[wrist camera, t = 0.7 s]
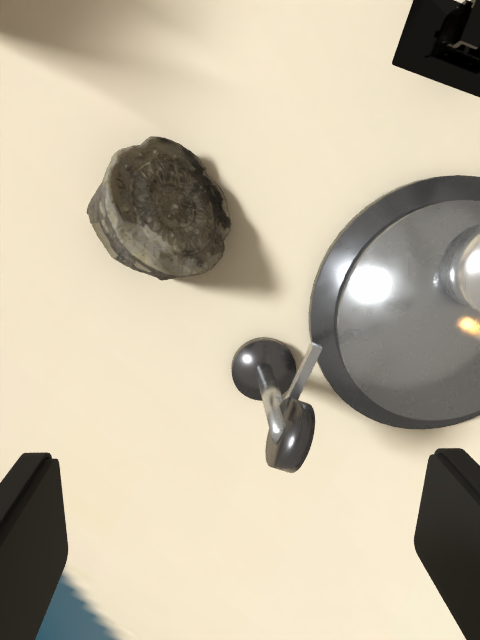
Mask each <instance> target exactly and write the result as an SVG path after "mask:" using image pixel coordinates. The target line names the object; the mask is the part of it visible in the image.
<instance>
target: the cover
mask: <svg viewBox="0 0 480 640" xmlns="http://www.w3.org/2000/svg"><path fill="white" fill-rule="evenodd" d="M440 279H441V283H442V286H443V288H444V290H445V292H446V293H447V294H448V296H449V297H450V298H451V299H453V300H454V301H456V302H458V303H460V304H462V305H465V306H467V307H470V308H472V309H474V310H477V311H479V312H480V224H479V225H475V226H472V227H470V228H468V229H466V230H464V231H463V232H461V233H460V234H459V235H457V236H456V237H455V238H454V239H453V240H452V241H451V243H450V244H449V245H448V247H447V249H446V250H445V252H444V254H443V257H442V260H441V265H440Z"/></svg>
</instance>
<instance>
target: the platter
mask: <svg viewBox="0 0 480 640" xmlns="http://www.w3.org/2000/svg"><path fill="white" fill-rule="evenodd" d="M479 224H480V201H474V200H453V201H441V202H437V203H432V204H427V205H424V206H422V207H419V208H416V209H413V210H411V211H409V212H407V213H405V214H403V215H401V216H399V217H397V218H396V219H394V220H393V221H391V222H390V223H388V224H387V225H385V226H384V227H383V228H382V229H380V230H379V231H378V232H377V233H376V234H375V235H373V236H372V237H371V238H370V240H369V241H368V242H367V243H366V244H365V245H364V246H363V247H362V248H361V250H360V251H359V252H358V254H357V255H356V257H355V258H354V259H353V261H352V263H351V264H350V266H349V268H348V270H347V272H346V274H345V276H344V278H343V281H342V283H341V286H340V288H339V292H338V296H337V300H336V304H335V312H334V334H335V341H336V346H337V349H338V353H339V356H340V358H341V361H342V363H343V365H344V367H345V369H346V370H347V372H348V373H349V375H350V377H351V378H352V379H353V381H354V382H355V383H356V385H357V386H358V387H359V388H360V389H361V390H362V391H363V392H364V394H365V395H366V396H368V397H369V398H370V399H371V400H372V401H374V402H375V403H376V404H378V405H379V406H381V407H383V408H384V409H386V410H388V411H390V412H393V413H395V414H397V415H400V416H404V417H407V418H411V419H418V420H436V421H437V420H447V419H453V418H458V417H462V416H466V415H469V414H472V413H475V412H477V411H480V312H479V311H477V310H474V309H472V308H470V307H467V306H465V305H462V304H460V303H458V302H456V301H454V300H453V299H451V298H450V297H449V296H448V294H447V293H446V292H445V290H444V288H443V286H442V283H441V279H440V265H441V260H442V257H443V254H444V252H445V250H446V249H447V247H448V245H449V244H450V243H451V241H452V240H453V239H454V238H455V237H456V236H457V235H459V234H460V233H461V232H463V231H464V230H466V229H468V228H470V227H472V226H475V225H479Z"/></svg>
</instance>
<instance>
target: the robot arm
mask: <svg viewBox="0 0 480 640" xmlns="http://www.w3.org/2000/svg"><path fill="white" fill-rule="evenodd" d="M414 545H415V550H416V553H417V555H418V557H419V558H420V560H421V562H422V563H423V565H424V567H425V569H426V570H427V572H428V574H429V576H430V577H431V579H432V581H433V583H434V584H435V586H436V588H437V589H438V591H439V593H440V595H441V596H442V598H443V600H444V602H445V603H446V605H447V607H448V609H449V610H450V612H451V614H452V615H453V617H454V619H455V621H456V622H457V624H458V626H459V628H460V629H461V631H462V633H463V635H464V636H465V638H466V640H480V466H479V465H478V464H477V463H476V462H475V461H474V460H473V459H472V458H471V457H470V456H469V455H468V454H467V453H466V452H465V451H464V450H463V449H460V448H441V449H437V450H436V451H435V453H434V454H432V455H430V457H429V459H428V464H427V470H426V475H425V481H424V486H423V492H422V497H421V503H420V508H419V514H418V519H417V525H416V530H415V536H414ZM67 556H68V541H67V532H66V523H65V513H64V504H63V495H62V486H61V476H60V467H59V461H58V459H52V456H51V454H50V453H24V454H22V455H21V456H20V458H19V459H18V460H17V462H16V463H15V464H14V466H13V467H12V468H11V470H10V471H9V472H8V474H7V475H6V476H5V478H4V479H3V480H2V482H1V483H0V640H35V638H36V635H37V633H38V631H39V628H40V626H41V623H42V621H43V618H44V616H45V614H46V611H47V609H48V606H49V604H50V601H51V599H52V596H53V594H54V591H55V589H56V586H57V584H58V582H59V579H60V577H61V574H62V572H63V569H64V567H65V564H66V561H67Z"/></svg>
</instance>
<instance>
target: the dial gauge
mask: <svg viewBox="0 0 480 640" xmlns="http://www.w3.org/2000/svg"><path fill="white" fill-rule="evenodd" d="M321 350H322V347H321V346H320V345H318V344H316V343H313V342H311V343H310V346H309V348H308V350H307V352H306V354H305V356H304V358H303V360H302V363H301V365H300V367H299V369H298V371H297V373H296V364H295V361H294V358H293V356H292V354H291V352H290V351H289V349H288V348H287V347H286V346H285V345H284V344H283V343H281V342H280V341H278V340H275V339H272V338H265V337H263V338H256V339H253V340H250V341H248V342H246V343H245V344H243V345H242V346H241V347H240V348H239V349H238V351H237V352H236V353H235V355H234V358H233V361H232V377H233V381H234V383H235V385H236V387H237V388H238V390H239V391H240V392H241V393H242V394H244V395H245V396H247V397H249V398H251V399H254V400H261V401H263V404H264V408H265V412H266V416H267V420H268V424H269V432H268V436H267V441H266V461H267V464H268V465H269V466H270V467H273V468H276V469H279V470H282V471H285V472H289V473H294V472H296V471H297V470H298V469H299V468H300V467H301V465H302V464H303V462H304V461H305V459H306V457H307V455H308V452H309V450H310V447H311V443H312V440H313V435H314V429H315V414H314V410H313V408H312V406H311V405H310V404H308V403H305V402H302V401H299V400H298V398H299V396H300V394H301V392H302V390H303V388H304V386H305V384H306V382H307V380H308V378H309V375H310V373H311V371H312V369H313V367H314V365H315V363H316V361H317V359H318V357H319V355H320V352H321ZM288 389H289V390H288ZM287 390H288V392H287V395H286V397H285V399H284V400H283V397H282V394H284V393H285V392H286V391H287Z"/></svg>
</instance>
